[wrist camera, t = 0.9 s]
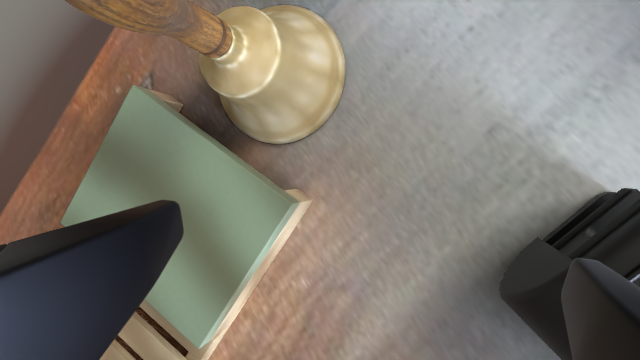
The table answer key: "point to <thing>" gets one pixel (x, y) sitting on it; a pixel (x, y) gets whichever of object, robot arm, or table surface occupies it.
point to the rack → (187, 222)
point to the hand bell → (249, 59)
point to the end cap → (561, 249)
